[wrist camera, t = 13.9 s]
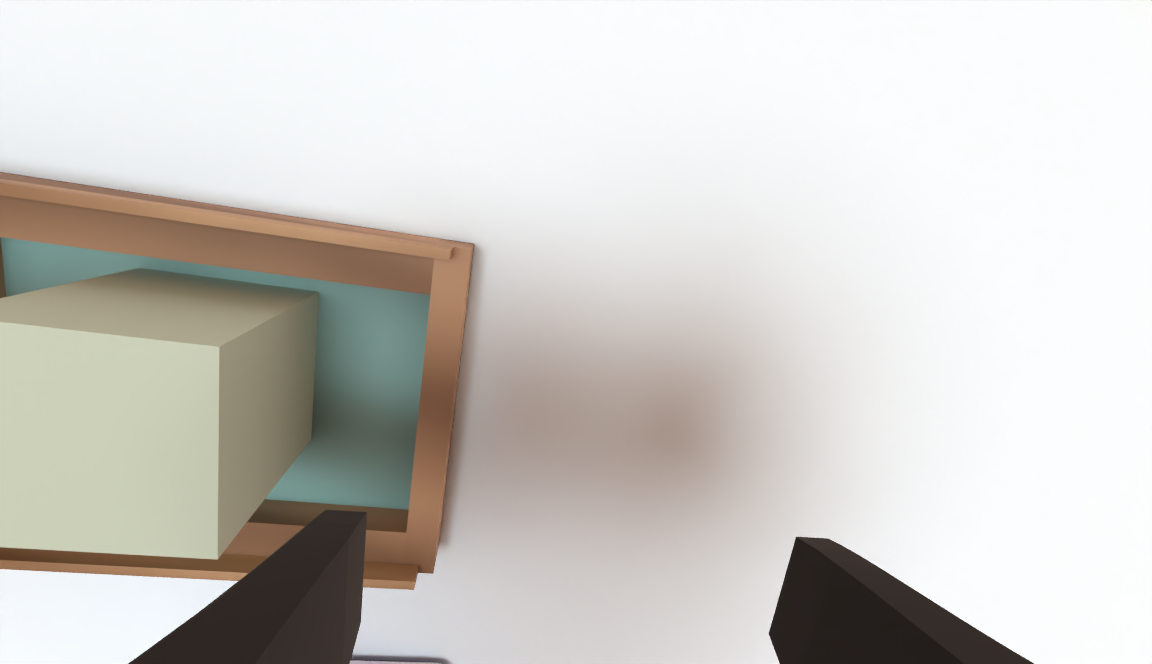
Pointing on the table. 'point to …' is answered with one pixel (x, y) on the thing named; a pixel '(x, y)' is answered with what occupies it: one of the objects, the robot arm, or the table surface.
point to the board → (342, 366)
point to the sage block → (149, 410)
